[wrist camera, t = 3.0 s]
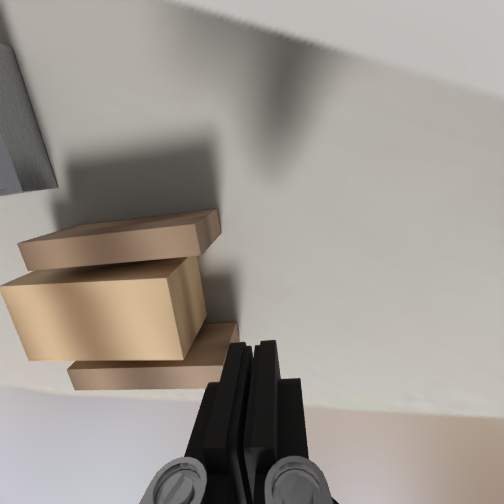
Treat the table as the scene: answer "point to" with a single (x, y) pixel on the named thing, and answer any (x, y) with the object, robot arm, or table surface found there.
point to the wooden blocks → (129, 250)
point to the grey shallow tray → (19, 135)
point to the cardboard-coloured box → (109, 310)
